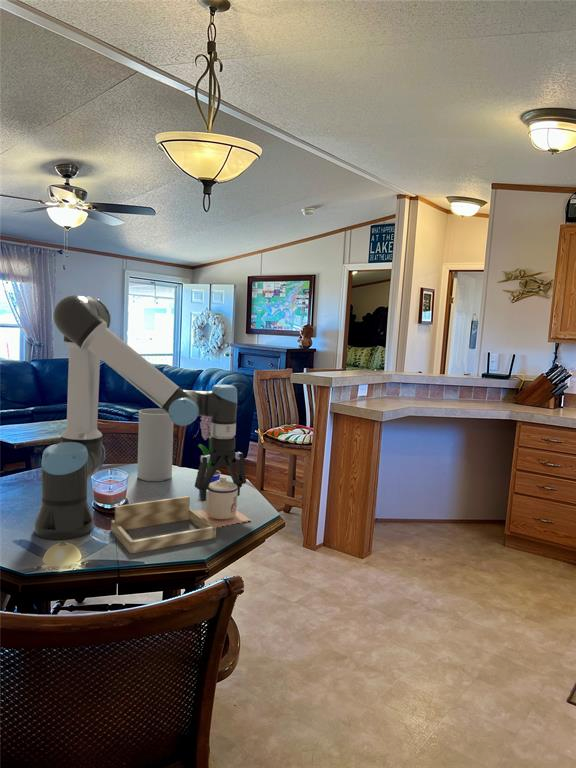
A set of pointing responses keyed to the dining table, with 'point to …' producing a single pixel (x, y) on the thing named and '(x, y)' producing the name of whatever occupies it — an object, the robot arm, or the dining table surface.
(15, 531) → the dining table surface
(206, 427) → the hyacinth
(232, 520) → the terracotta tile
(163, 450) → the cylinder vase
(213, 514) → the teacup with lid
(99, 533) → the dining table surface
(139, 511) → the frame
